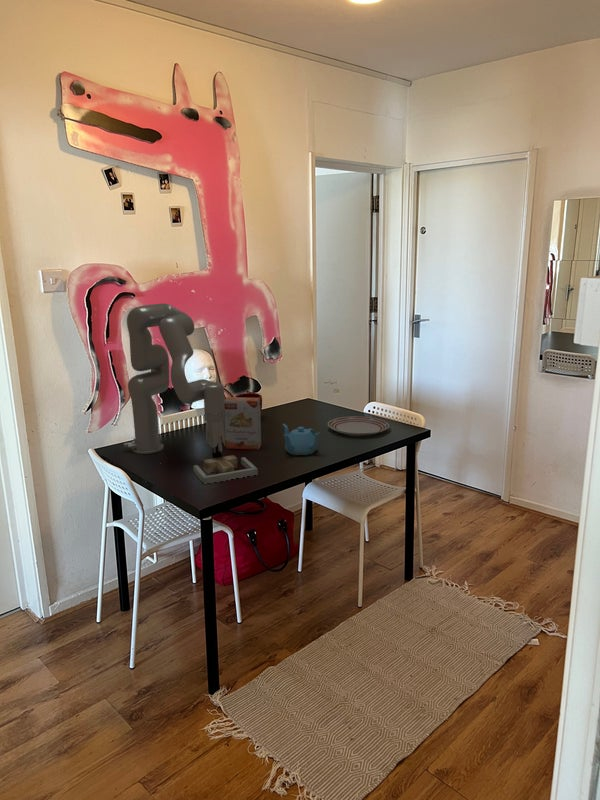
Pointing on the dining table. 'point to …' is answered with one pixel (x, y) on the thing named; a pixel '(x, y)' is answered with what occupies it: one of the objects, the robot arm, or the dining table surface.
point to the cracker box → (242, 423)
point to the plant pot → (252, 395)
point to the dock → (249, 471)
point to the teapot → (300, 441)
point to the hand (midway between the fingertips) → (217, 462)
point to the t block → (221, 464)
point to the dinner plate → (358, 425)
